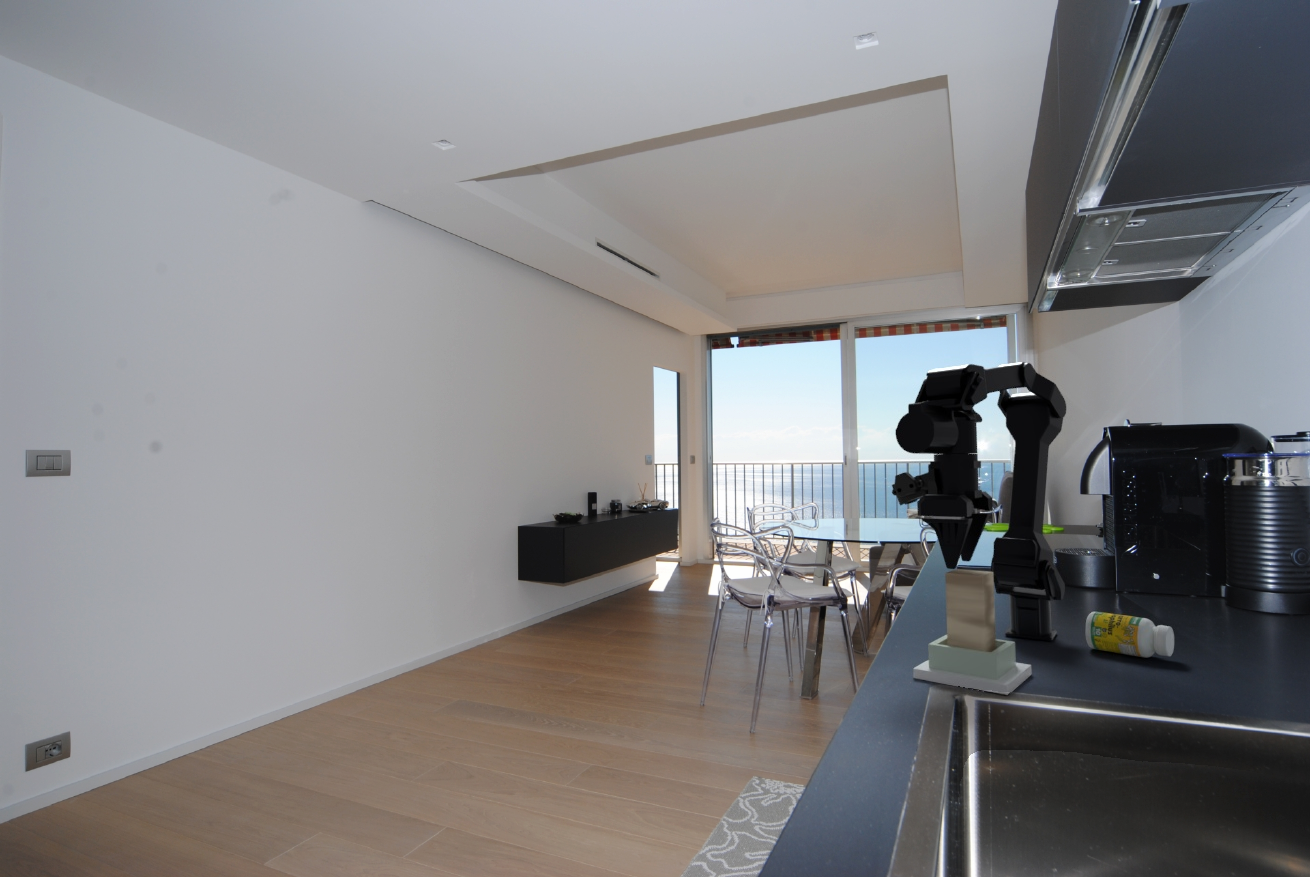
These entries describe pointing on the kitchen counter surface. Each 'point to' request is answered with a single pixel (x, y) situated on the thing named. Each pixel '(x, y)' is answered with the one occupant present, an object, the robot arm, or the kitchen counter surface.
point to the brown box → (970, 609)
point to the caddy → (973, 666)
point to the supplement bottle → (1128, 635)
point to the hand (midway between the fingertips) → (958, 564)
